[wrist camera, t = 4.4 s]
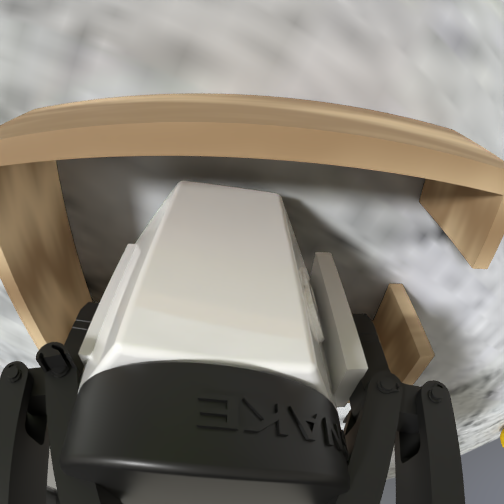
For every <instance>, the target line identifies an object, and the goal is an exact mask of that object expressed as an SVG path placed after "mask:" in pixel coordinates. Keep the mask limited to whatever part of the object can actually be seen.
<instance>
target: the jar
mask: <svg viewBox="0 0 504 504" xmlns="http://www.w3.org/2000/svg"><path fill="white" fill-rule="evenodd" d="M135 244H137V245H136V247H135V249H134V252H133V254H132V256H131V258H130V260H129V263H128V265H127V267H126V269H125V272H124V274H123V276H122V278H121V281H120V283H119V285H118V288H117V290H116V292H115V295H114V297H113V300H112V302H111V304H110V307H109V309H108V312H107V314H106V317H105V319H104V322H103V325H102V327H101V330H100V332H99V335H98V338H97V340H96V343H95V346H94V348H93V351H92V354H91V357H90V358H89V359H88V361H87V362H86V364H85V365H84V368H83V371H82V374H81V377H80V383H79V389H78V395H77V399H76V402H75V405H74V408H73V412H72V415H71V419H70V422H69V426H68V429H67V433H66V437H65V440H64V444H63V448H62V452H61V456H60V463H59V464H60V467H61V470H62V471H63V472H64V473H65V474H67V475H69V476H73V477H76V478H79V479H83V480H86V481H90V482H94V483H96V484H97V485H99V486H100V487H102V488H103V489H105V490H106V491H108V492H110V493H111V494H113V495H114V496H116V497H117V498H119V499H121V502H122V503H123V504H325V503H326V502H328V501H330V500H331V499H333V498H334V497H336V496H337V495H339V494H344V493H346V492H347V491H349V489H350V479H349V472H348V466H347V462H349V455H348V449H347V444H346V438H345V434H344V431H343V430H341V427H340V421H339V416H338V411H337V406H336V400H335V395H334V391H333V386H332V381H331V376H330V371H329V367H328V362H327V357H326V352H325V348H324V343H323V340H324V339H325V337H324V331H323V328H322V323H321V320H320V316H319V313H318V307H317V305H316V301H315V298H314V292H313V289H312V286H311V284H310V277H309V274H308V271H307V269H306V267H305V264H304V261H303V258H302V255H301V252H300V249H299V246H298V243H297V240H296V237H295V234H294V231H293V228H292V226H291V223H290V220H289V217H288V214H287V211H286V209H285V206H284V203H283V200H282V198H281V196H280V195H279V194H277V193H272V192H265V191H259V190H252V189H245V188H238V187H231V186H223V185H216V184H208V183H200V182H192V181H180V182H178V183H177V185H176V186H175V187H174V189H173V190H172V192H171V193H170V194H169V196H168V197H167V198H166V200H165V201H164V203H163V204H162V205H161V207H160V208H159V210H158V211H157V212H156V214H155V215H154V217H153V218H152V219H151V221H150V222H149V224H148V225H147V227H146V228H145V230H144V231H143V233H142V234H141V235H140V237H139V238H138V240H137V241H136V243H135Z"/></svg>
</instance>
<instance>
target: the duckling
mask: <svg viewBox="0 0 504 504" xmlns="http://www.w3.org/2000/svg"><path fill="white" fill-rule="evenodd" d="M500 439H501V444H502V446H503V447H504V429H503V430H502V432H501V435H500Z"/></svg>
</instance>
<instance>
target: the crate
mask: <svg viewBox="0 0 504 504" xmlns="http://www.w3.org/2000/svg"><path fill="white" fill-rule="evenodd" d="M117 156H216V157H240V158H258V159H273V160H286V161H298V162H309V163H319V164H328V165H337V166H346V167H354V168H362V169H369V170H376V171H383V172H390V173H396V174H402V175H408V176H414V177H420V178H426V179H425V183H424V186H423V189H422V193H421V196H420V199H419V202H420V204H421V205H422V206H423V207H424V208H425V209H426V210H427V212H428V213H429V214H430V215H431V216H432V217H433V219H434V220H435V221H436V222H437V223H438V225H439V226H440V227H441V228H442V229H443V231H444V232H445V233H446V234H447V236H448V237H449V238H450V239H451V241H452V242H453V243H454V244H455V246H456V247H457V248H458V250H459V251H460V252H461V254H462V255H463V256H464V258H465V259H466V260H467V262H468V263H469V264H470V266H471V267H472V268H474V269H488V267H489V265H490V263H491V261H492V259H493V257H494V255H495V252H496V250H497V248H498V246H499V244H500V242H501V240H502V237H503V235H504V161H503V160H502V159H500V158H499V157H497V156H495V155H494V154H492V153H491V152H489V151H488V150H486V149H485V148H483V147H481V146H480V145H478V144H476V143H475V142H473V141H472V140H470V139H468V138H466V137H465V136H463V135H461V134H460V133H458V132H456V131H454V130H452V129H448V128H445V127H441V126H438V125H434V124H430V123H427V122H423V121H419V120H415V119H411V118H406V117H402V116H398V115H393V114H389V113H384V112H379V111H374V110H369V109H363V108H358V107H352V106H346V105H340V104H333V103H326V102H319V101H311V100H302V99H293V98H283V97H271V96H257V95H238V94H158V95H140V96H126V97H115V98H105V99H96V100H88V101H80V102H73V103H66V104H60V105H54V106H48V107H43V108H38V109H34V110H32V111H29V112H27V113H25V114H23V115H21V116H18V117H16V118H14V119H12V120H10V121H8V122H6V123H4V124H2V125H0V278H1V280H2V282H3V285H4V287H5V289H6V291H7V293H8V295H9V297H10V299H11V301H12V303H13V305H14V307H15V309H16V311H17V313H18V315H19V316H20V318H21V320H22V322H23V324H24V326H25V327H26V329H27V331H28V333H29V334H30V336H31V338H32V339H33V341H34V343H35V344H36V346H37V348H38V349H40V348H41V347H42V346H44V345H45V344H47V343H50V342H59V343H62V344H63V345H64V344H65V342H66V339H67V337H68V335H69V333H70V330H71V328H72V326H73V324H74V322H75V321H76V318H77V315H78V313H79V311H80V309H82V308H83V307H84V306H85V305H86V304H87V303H88V302H92V299H91V296H90V293H89V290H88V287H87V284H86V281H85V278H84V275H83V272H82V268H81V265H80V262H79V258H78V255H77V251H76V248H75V244H74V241H73V237H72V233H71V229H70V225H69V221H68V217H67V213H66V209H65V204H64V200H63V195H62V190H61V185H60V180H59V175H58V169H57V164H56V160H63V159H77V158H94V157H117ZM371 321H372V322H373V323H374V326H375V329H376V332H377V335H378V337H379V342H380V343H381V346H382V349H383V352H384V355H385V358H386V361H387V364H388V367H389V370H390V372H391V373H392V374H395V375H396V376H397V377H398V378H399V379H400V381H401V382H402V383H404V384H408V385H413V384H414V383H415V381H416V380H417V379H418V377H419V376H420V375H421V374H422V372H423V371H424V370H425V368H426V367H427V366H428V364H429V363H430V361H431V360H432V359H433V357H434V356H435V355H434V352H433V350H432V347H431V345H430V343H429V340H428V338H427V336H426V334H425V331H424V329H423V327H422V325H421V322H420V320H419V318H418V316H417V314H416V312H415V309H414V307H413V305H412V303H411V301H410V299H409V297H408V295H407V293H406V291H405V289H404V287H403V285H402V284H389V285H388V288H387V290H386V293H385V295H384V297H383V300H382V302H381V304H380V307H379V309H378V311H377V314H376V316H375V318H374V320H371ZM348 403H350V400H349V401H348Z"/></svg>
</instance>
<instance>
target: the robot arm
mask: <svg viewBox="0 0 504 504" xmlns="http://www.w3.org/2000/svg"><path fill="white" fill-rule="evenodd" d="M136 245H137V244H128V245H127V247H126V249H125V251H124V253H123V255H122V257H121V259H120V261H119V263H118V265H117V267H116V269H115V271H114V273H113V275H112V277H111V280H110V282H109V284H108V286H107V288H106V290H105V292H104V294H103V297H102V299H101V301H100V303H94V302H88V303H87V304H86V305H85V306H84V307H83V308H82V309H80V311H79V313H78V315H77V318H76V321H75V322H74V324H73V326H72V328H71V330H70V333H69V335H68V337H67V339H66V342H65V344H64V345H63V344H62V343H59V342H50V343H47V344H45V345H44V346H42V347H41V348H40V349H39V351H38V352H37V355H36V360H37V362H38V363H39V365H40V366H41V367H40V368H30V369H28V368H27V366H26V365H25V364H24V363H23V362H19V361H15V362H11V363H9V364H8V365H7V366H6V367H5V368H4V369H3V372H2V374H1V377H0V504H123V503H122V502H121V499H119V498H117V497H116V496H114V495H113V494H111V493H110V492H108V491H106V490H105V489H103V488H102V487H100V486H99V485H97V484H96V483H94V482H90V481H86V480H83V479H79V478H76V477H73V476H69V475H67V474H65V473H64V472H63V471H62V470H61V467H60V464H59V463H60V456H61V452H62V448H63V444H64V440H65V437H66V433H67V429H68V426H69V422H70V419H71V415H72V412H73V408H74V405H75V402H76V399H77V395H78V389H79V383H80V377H81V374H82V371H83V368H84V365H85V364H86V362H87V361H88V359H89V358H90V357H91V354H92V351H93V348H94V346H95V343H96V340H97V338H98V335H99V332H100V330H101V327H102V325H103V322H104V319H105V317H106V314H107V312H108V309H109V307H110V304H111V302H112V300H113V297H114V295H115V292H116V290H117V288H118V285H119V283H120V281H121V278H122V276H123V274H124V272H125V269H126V267H127V265H128V263H129V260H130V258H131V256H132V254H133V252H134V249H135V247H136ZM310 284H311V286H312V289H313V292H314V298H315V301H316V305H317V307H318V313H319V316H320V320H321V323H322V328H323V331H324V337H325V339H324V340H323V343H324V348H325V352H326V357H327V362H328V367H329V371H330V376H331V381H332V386H333V391H334V395H335V400H336V406H337V407H345V406H346V404H347V403H348V401H349V400H350V405H351V410H350V411H349V413H348V414H347V416H346V417H345V419H344V421H343V423H346V424H345V427H344V434H345V438H346V444H347V449H348V455H349V462H347V466H348V472H349V479H350V489H349V491H347V492H346V493H344V494H339V495H337V496H336V497H334V498H333V499H331V500H330V501H328V502H326V503H325V504H380V500H381V497H382V494H383V490H384V486H385V482H386V478H387V474H388V470H389V465H390V461H391V456H392V451H393V446H394V445H395V469H396V504H465V496H464V484H463V473H462V464H461V456H460V449H459V442H458V436H457V430H456V424H455V418H454V413H453V408H452V403H451V398H450V394H449V391H448V389H447V388H446V387H445V386H444V384H442V383H440V382H438V381H428V382H426V383H425V384H424V385H423V386H422V387H419V386H413V385H408V384H404V383H402V382H401V381H400V379H399V378H398V377H397V376H396V375H395V374H392V373H391V372H390V370H389V367H388V364H387V361H386V358H385V355H384V352H383V349H382V346H381V343H380V342H379V337H378V335H377V332H376V329H375V326H374V323H373V322H372V321H371V319H370V318H369V317H368V316H367V315H366V314H352V313H351V310H350V307H349V304H348V301H347V298H346V295H345V292H344V289H343V286H342V283H341V280H340V277H339V274H338V271H337V268H336V265H335V263H334V260H333V257H332V254H331V253H328V252H315V257H314V262H313V266H312V271H311V276H310ZM49 448H50V451H51V458H52V464H53V470H54V476H55V481H56V486H57V490H56V489H54V488H52V487H50V486H47V473H48V458H49Z"/></svg>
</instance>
